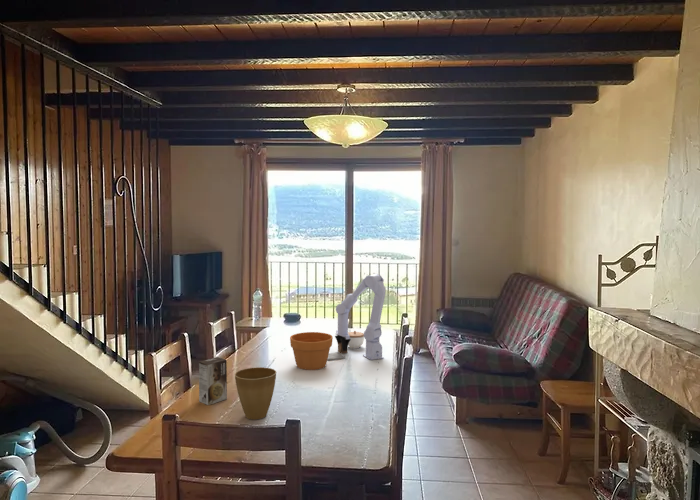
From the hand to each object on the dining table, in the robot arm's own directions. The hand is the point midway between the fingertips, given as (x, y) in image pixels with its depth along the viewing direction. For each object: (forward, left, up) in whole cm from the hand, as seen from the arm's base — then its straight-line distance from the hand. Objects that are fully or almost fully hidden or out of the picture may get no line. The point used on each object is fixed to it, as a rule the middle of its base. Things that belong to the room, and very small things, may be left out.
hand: (342, 349), depth 270 cm
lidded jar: (+8, -11, -2) cm, 14 cm away
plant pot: (-72, +65, -2) cm, 97 cm away
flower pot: (-19, +25, -2) cm, 31 cm away
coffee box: (-50, +77, -2) cm, 92 cm away
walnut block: (0, 0, -2) cm, 2 cm away
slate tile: (-8, +9, -1) cm, 12 cm away
